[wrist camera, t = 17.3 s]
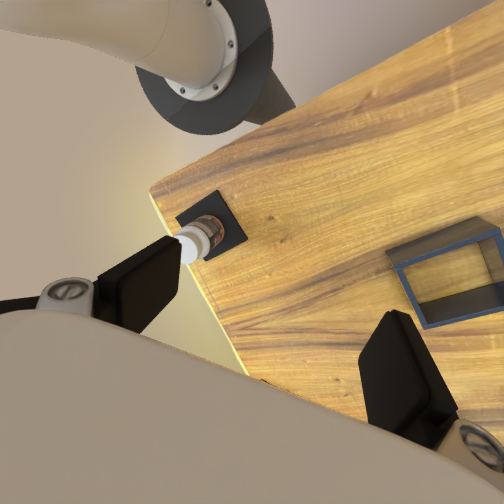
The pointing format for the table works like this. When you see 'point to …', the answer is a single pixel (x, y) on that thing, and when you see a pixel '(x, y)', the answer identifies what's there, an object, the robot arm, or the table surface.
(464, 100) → the table surface
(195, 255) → the pill bottle
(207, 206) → the mat
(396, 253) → the caddy
